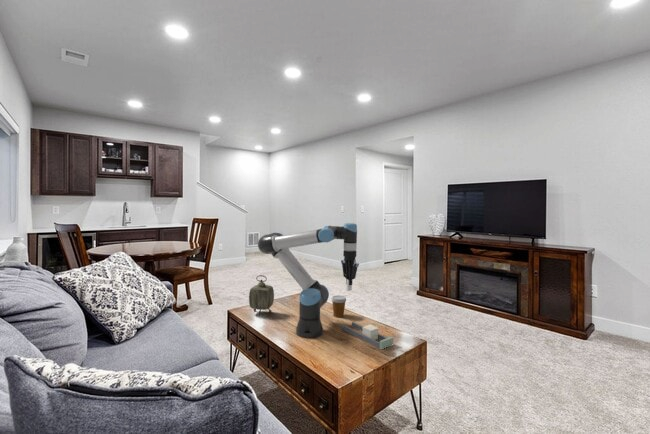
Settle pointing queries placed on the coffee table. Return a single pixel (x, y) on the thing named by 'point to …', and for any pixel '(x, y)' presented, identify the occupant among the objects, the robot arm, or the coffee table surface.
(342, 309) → the disposable coffee cup
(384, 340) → the chute
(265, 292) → the tabletop clock
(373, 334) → the block
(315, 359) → the coffee table surface
